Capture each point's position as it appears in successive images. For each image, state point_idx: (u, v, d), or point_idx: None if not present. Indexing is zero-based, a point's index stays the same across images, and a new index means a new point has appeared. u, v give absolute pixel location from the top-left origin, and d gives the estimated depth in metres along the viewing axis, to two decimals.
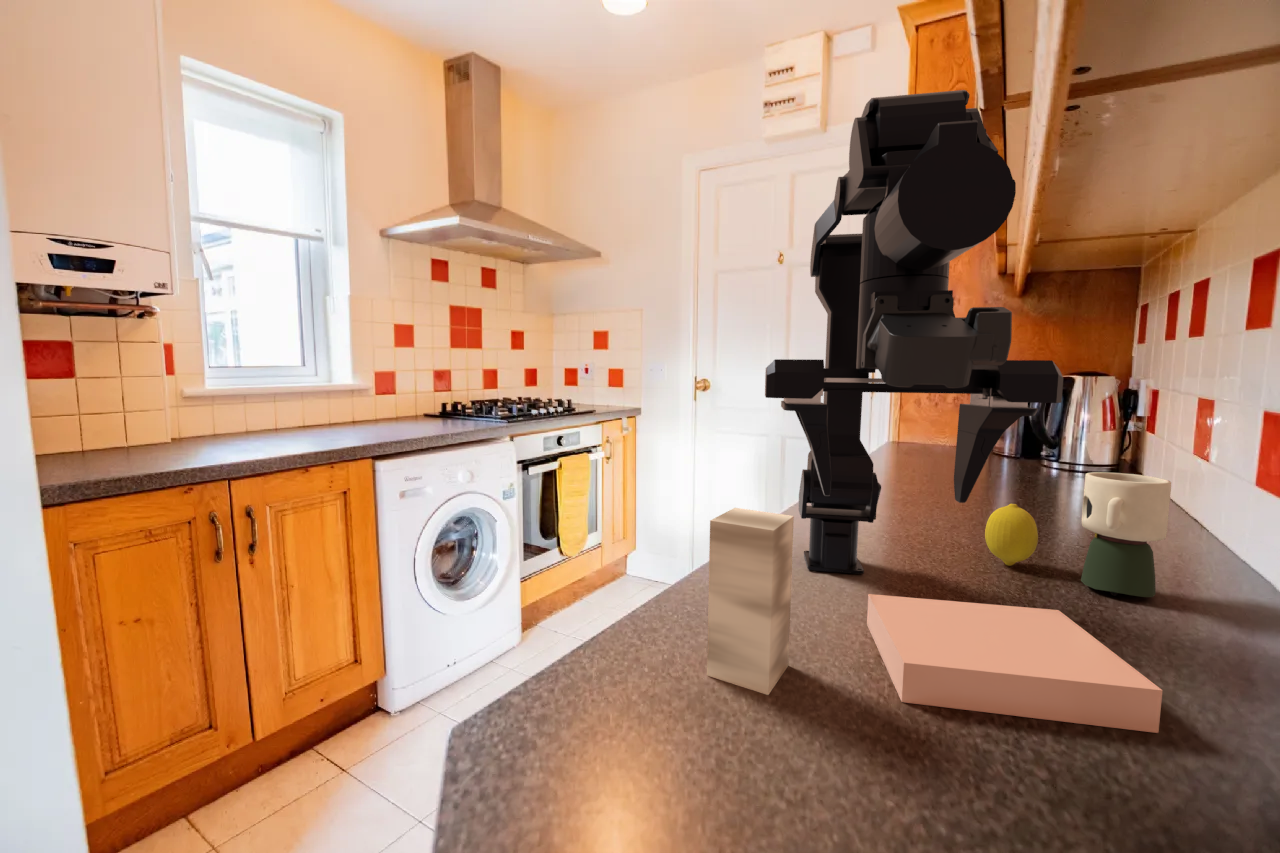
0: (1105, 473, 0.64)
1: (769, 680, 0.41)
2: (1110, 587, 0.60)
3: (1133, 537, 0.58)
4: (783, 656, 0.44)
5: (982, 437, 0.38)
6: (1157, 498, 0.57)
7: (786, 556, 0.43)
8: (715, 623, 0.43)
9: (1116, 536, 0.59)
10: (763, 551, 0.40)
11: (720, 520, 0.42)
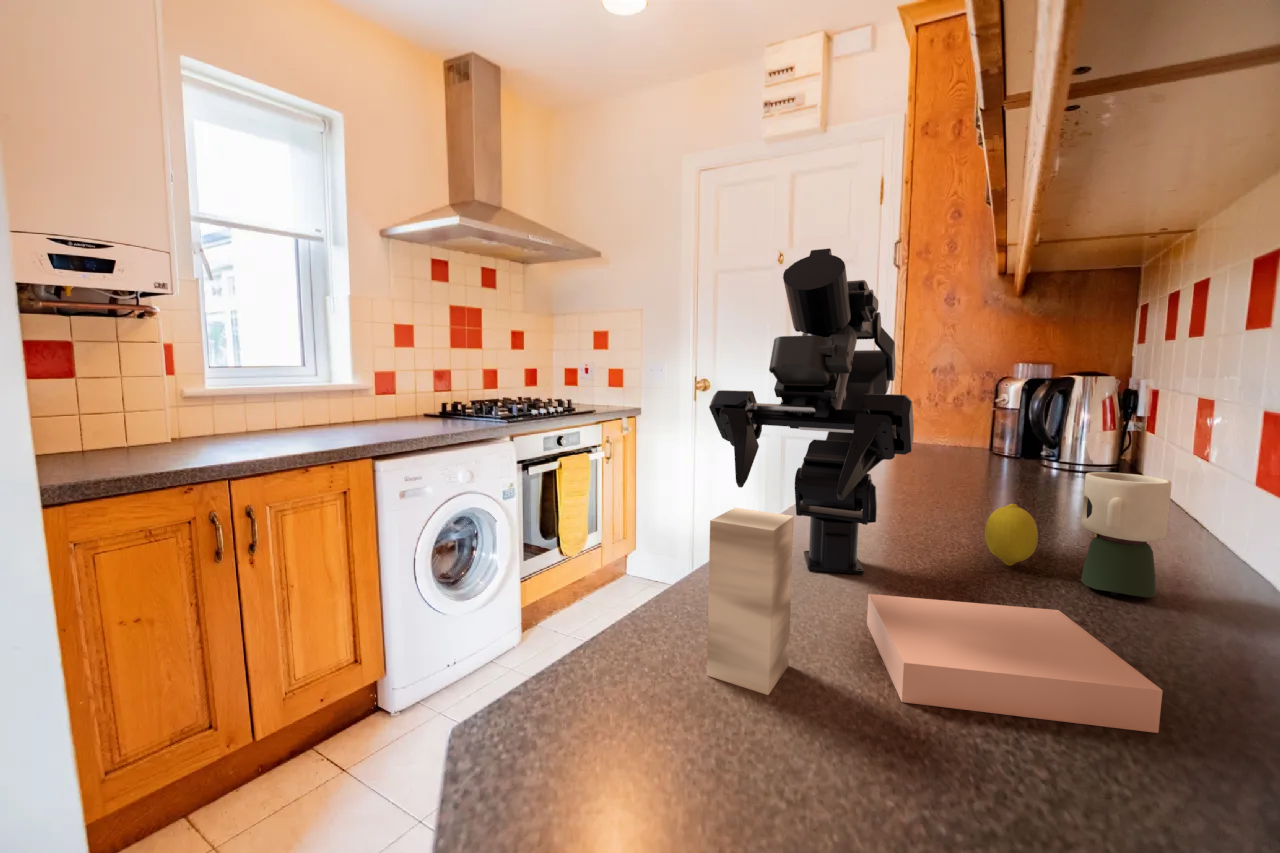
0: (1105, 473, 0.64)
1: (769, 680, 0.41)
2: (1110, 587, 0.60)
3: (1133, 537, 0.58)
4: (783, 656, 0.44)
5: (855, 443, 0.49)
6: (1157, 498, 0.57)
7: (786, 556, 0.43)
8: (715, 623, 0.43)
9: (1116, 536, 0.59)
10: (763, 551, 0.40)
11: (720, 520, 0.42)
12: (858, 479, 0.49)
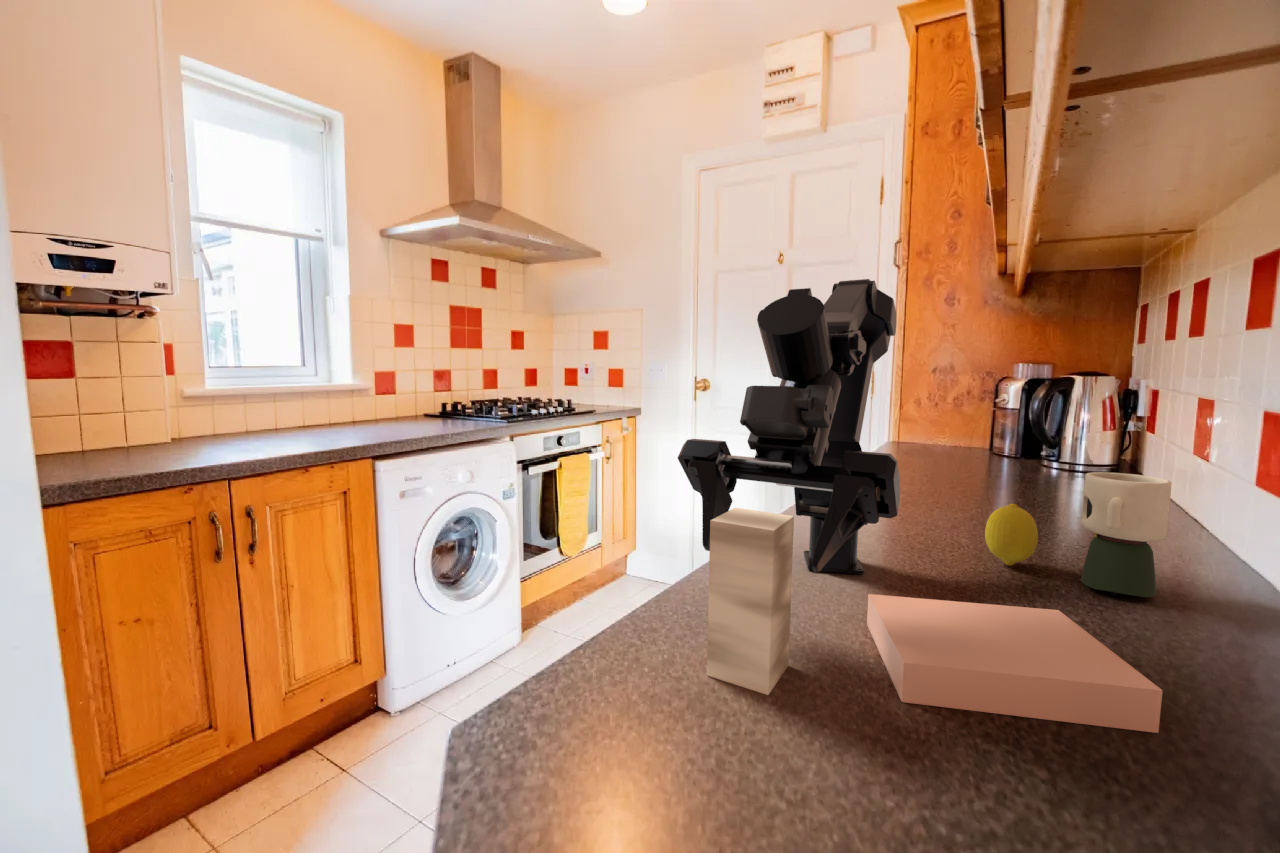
0: (1105, 473, 0.64)
1: (769, 680, 0.41)
2: (1110, 587, 0.60)
3: (1133, 537, 0.58)
4: (783, 656, 0.44)
5: (833, 507, 0.44)
6: (1157, 498, 0.57)
7: (786, 556, 0.43)
8: (715, 623, 0.43)
9: (1116, 536, 0.59)
10: (763, 551, 0.40)
11: (720, 520, 0.42)
12: (837, 547, 0.44)
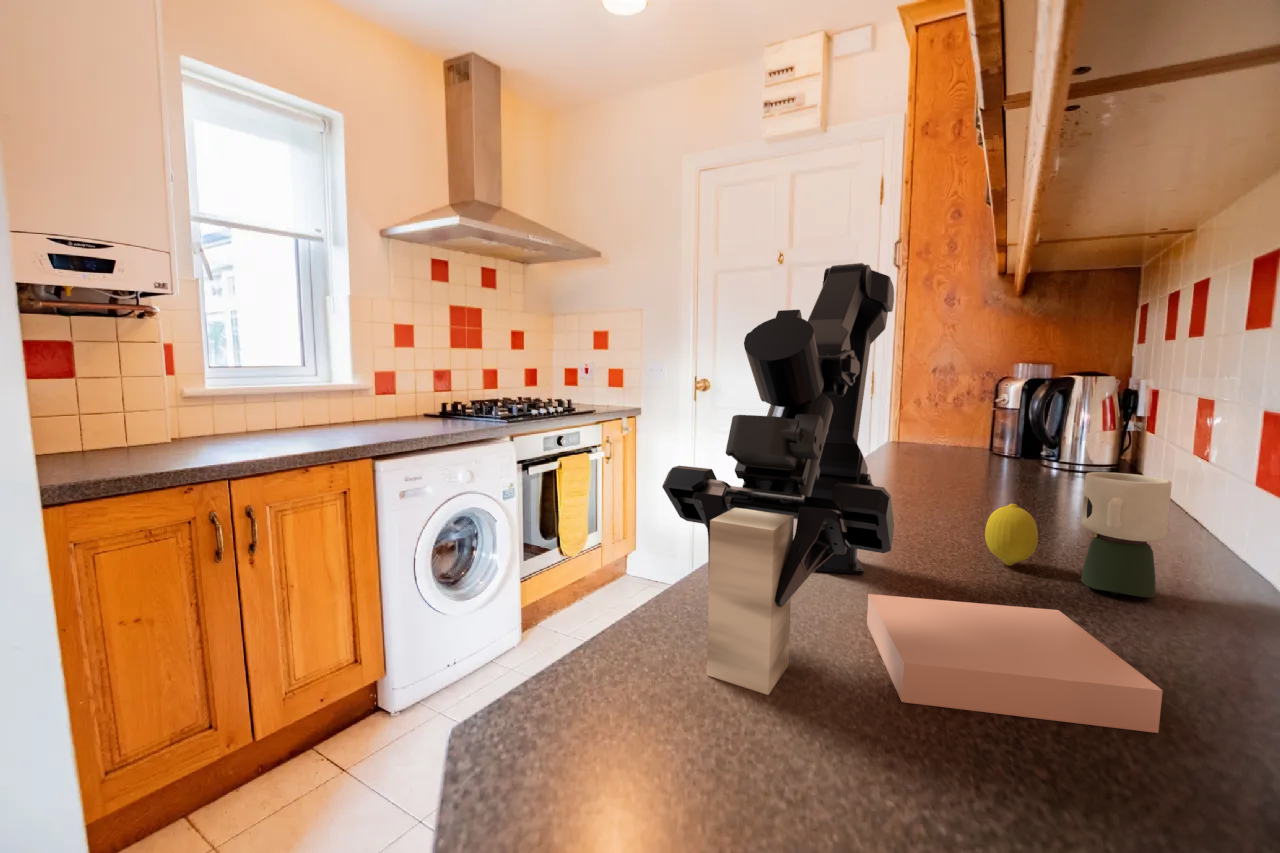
0: (1105, 473, 0.64)
1: (769, 680, 0.41)
2: (1110, 587, 0.60)
3: (1133, 537, 0.58)
4: (783, 656, 0.44)
5: (798, 539, 0.43)
6: (1157, 498, 0.57)
7: (786, 556, 0.43)
8: (715, 623, 0.43)
9: (1116, 536, 0.59)
10: (763, 551, 0.40)
11: (720, 520, 0.42)
12: (802, 581, 0.43)
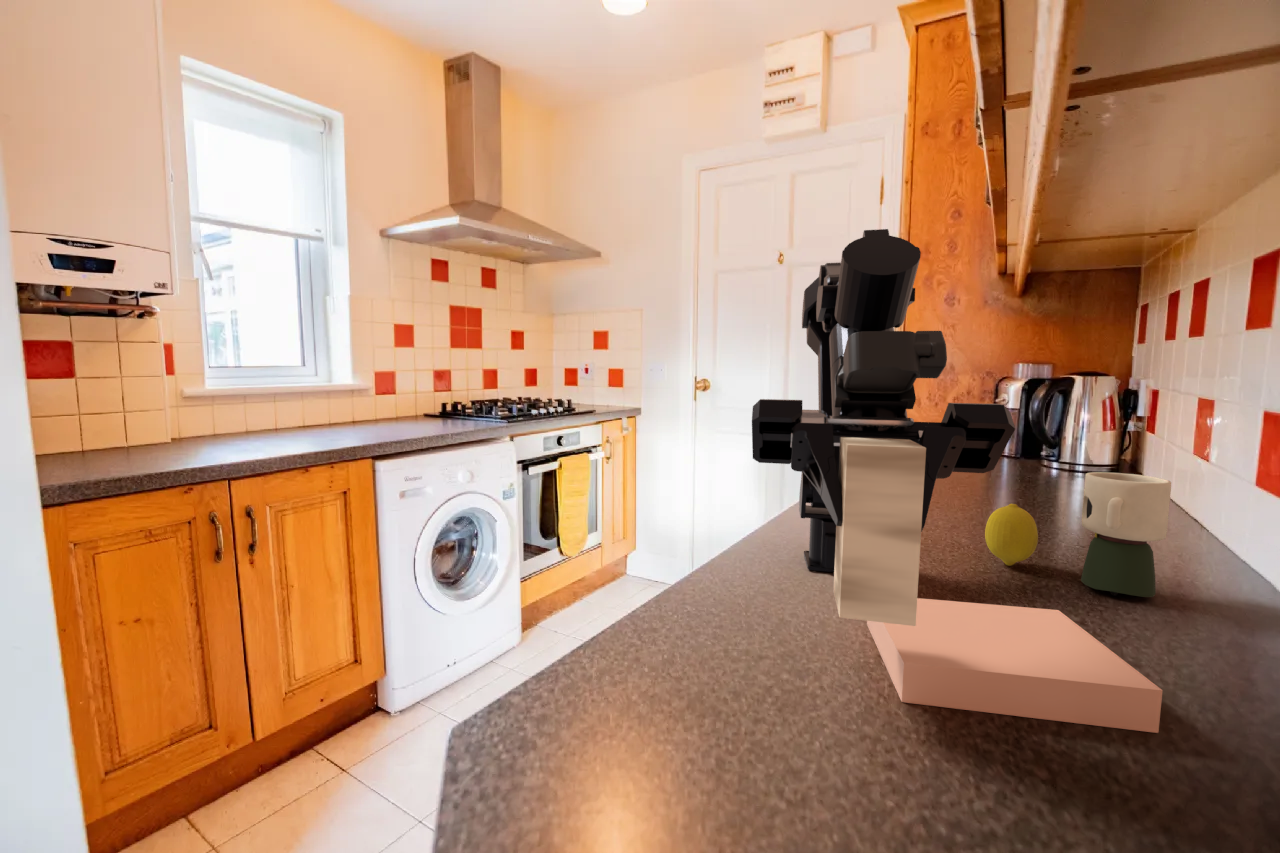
0: (1105, 473, 0.64)
1: (915, 610, 0.39)
2: (1110, 587, 0.60)
3: (1133, 537, 0.58)
4: None
5: (925, 461, 0.41)
6: (1157, 497, 0.57)
7: None
8: (851, 558, 0.39)
9: (1116, 536, 0.59)
10: (913, 472, 0.38)
11: (857, 444, 0.39)
12: None
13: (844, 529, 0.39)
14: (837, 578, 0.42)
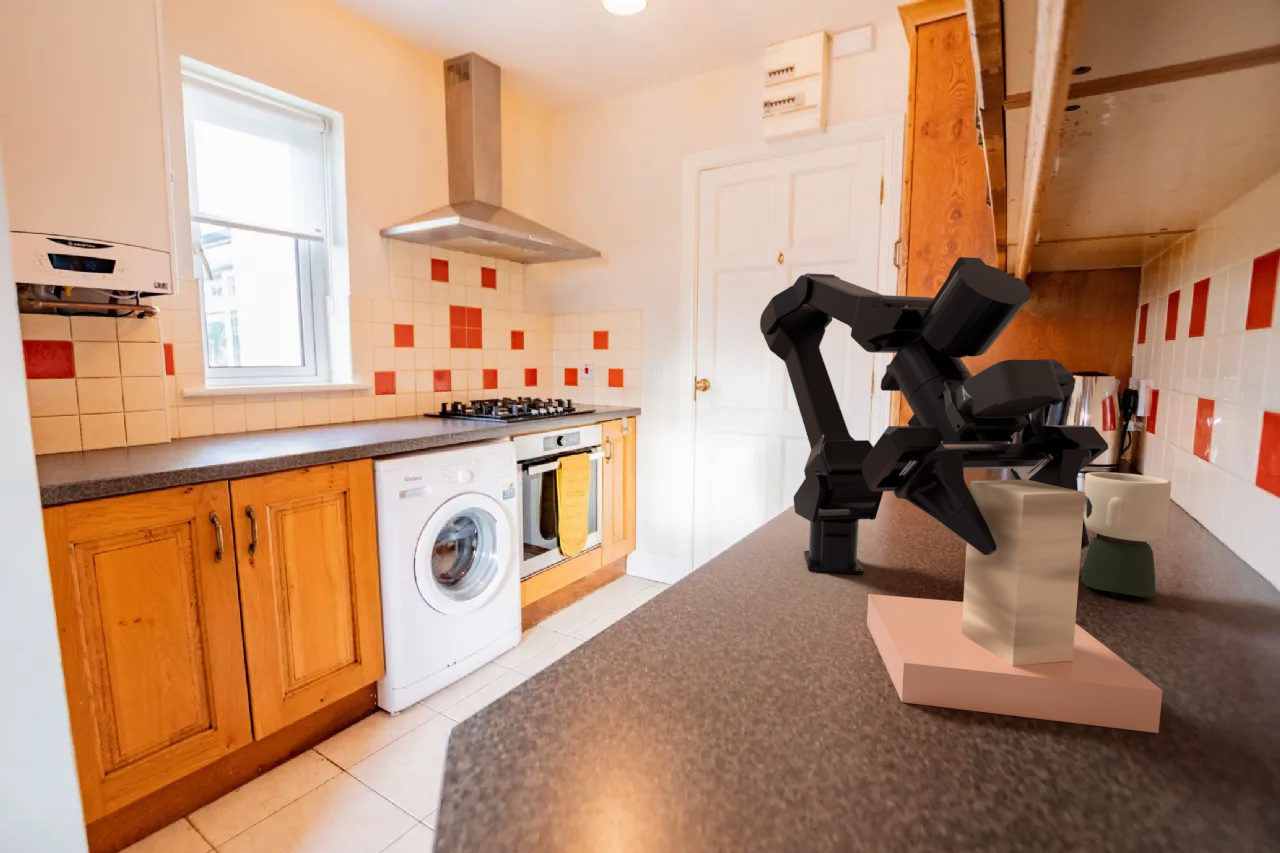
0: (1105, 473, 0.64)
1: None
2: (1110, 587, 0.60)
3: (1133, 537, 0.58)
4: None
5: (1065, 483, 0.43)
6: (1157, 498, 0.57)
7: None
8: (1024, 605, 0.39)
9: (1116, 536, 0.59)
10: (1075, 515, 0.39)
11: (1029, 493, 0.39)
12: None
13: (1018, 578, 0.39)
14: (987, 624, 0.42)
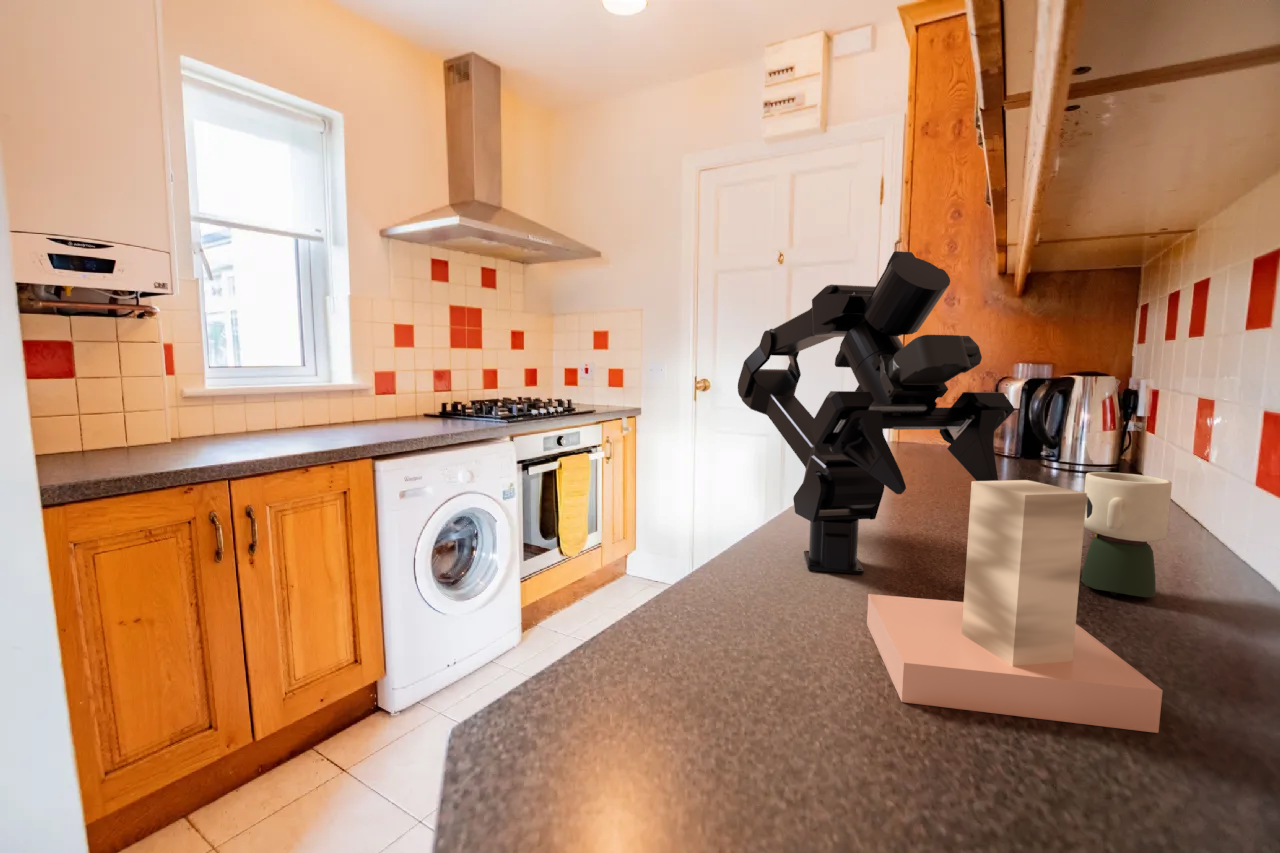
0: (1105, 473, 0.64)
1: None
2: (1110, 587, 0.60)
3: (1133, 537, 0.58)
4: None
5: (983, 437, 0.52)
6: (1157, 498, 0.57)
7: None
8: (1024, 606, 0.39)
9: (1116, 536, 0.59)
10: (1076, 516, 0.39)
11: (1030, 493, 0.39)
12: None
13: (1019, 578, 0.39)
14: (988, 624, 0.42)
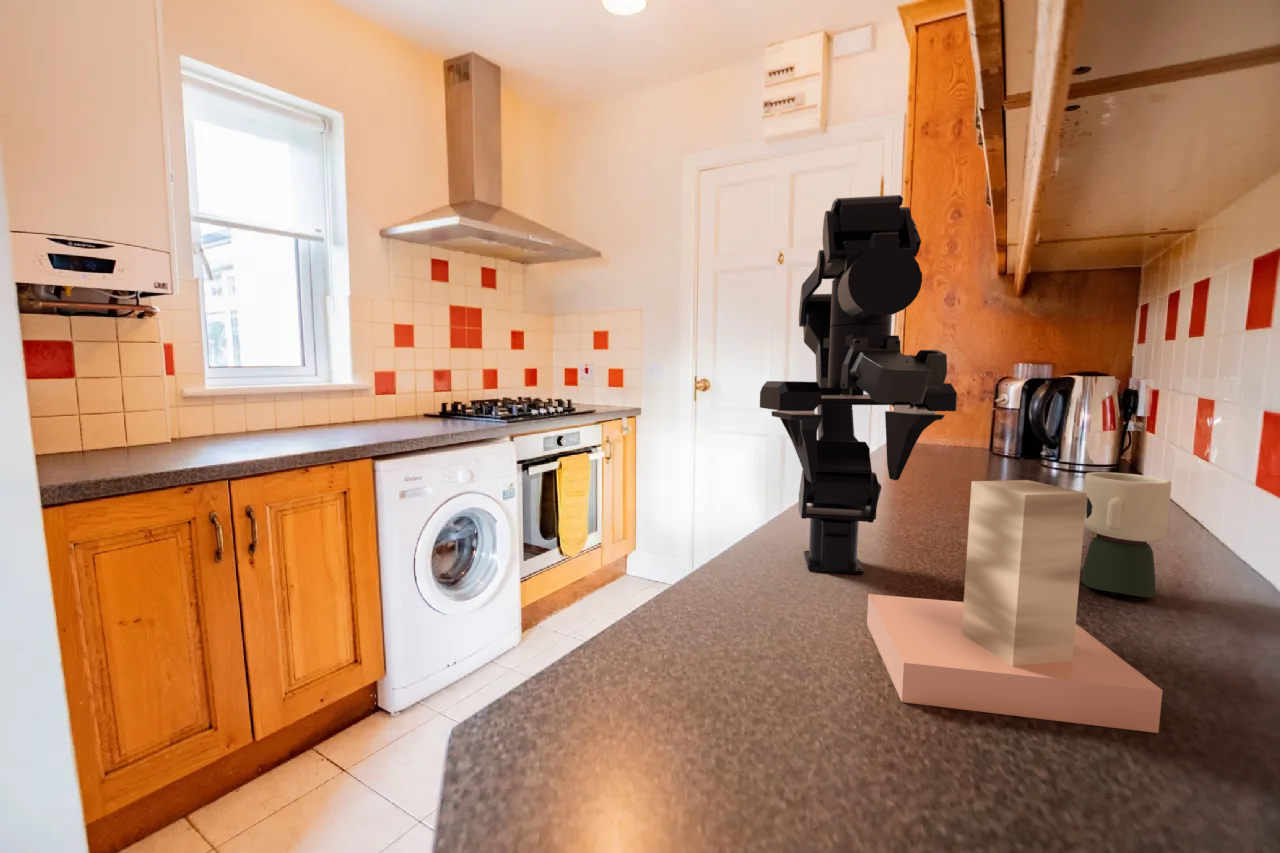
0: (1105, 473, 0.64)
1: None
2: (1110, 587, 0.60)
3: (1133, 537, 0.58)
4: None
5: (910, 434, 0.56)
6: (1157, 498, 0.57)
7: None
8: (1024, 606, 0.39)
9: (1116, 536, 0.59)
10: (1076, 516, 0.39)
11: (1030, 493, 0.39)
12: None
13: (1019, 578, 0.39)
14: (988, 624, 0.42)
